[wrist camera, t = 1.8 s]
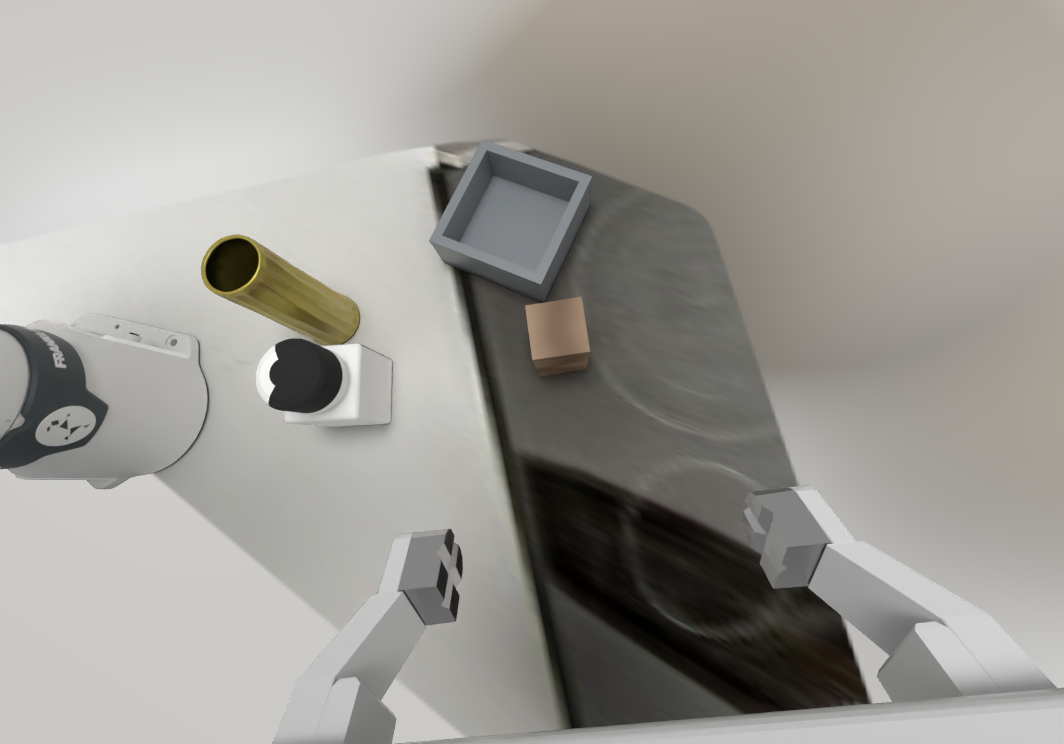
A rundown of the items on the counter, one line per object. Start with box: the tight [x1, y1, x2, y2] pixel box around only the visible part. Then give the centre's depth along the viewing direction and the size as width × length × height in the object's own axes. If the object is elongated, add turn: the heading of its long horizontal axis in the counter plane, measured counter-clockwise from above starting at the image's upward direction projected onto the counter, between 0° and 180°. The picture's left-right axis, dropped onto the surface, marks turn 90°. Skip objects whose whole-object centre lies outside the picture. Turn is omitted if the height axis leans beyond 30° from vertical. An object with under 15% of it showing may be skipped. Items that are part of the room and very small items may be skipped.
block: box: [525, 297, 590, 376], centre depth 38 cm, size 5×5×8 cm
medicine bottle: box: [256, 339, 392, 427], centre depth 38 cm, size 7×7×12 cm
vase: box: [201, 235, 359, 346], centre depth 38 cm, size 6×6×14 cm
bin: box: [429, 140, 592, 303], centre depth 43 cm, size 13×13×5 cm
